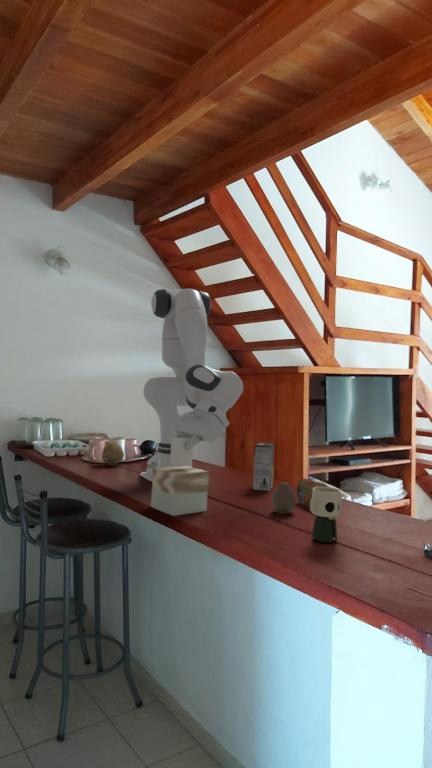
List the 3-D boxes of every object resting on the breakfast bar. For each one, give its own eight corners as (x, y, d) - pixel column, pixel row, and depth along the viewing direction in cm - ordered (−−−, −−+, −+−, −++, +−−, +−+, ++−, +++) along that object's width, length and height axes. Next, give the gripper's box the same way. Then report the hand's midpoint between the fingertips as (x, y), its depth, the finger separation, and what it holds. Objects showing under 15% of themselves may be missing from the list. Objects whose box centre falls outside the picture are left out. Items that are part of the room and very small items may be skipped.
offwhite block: (170, 464, 168) (171, 437, 168) (182, 463, 171) (183, 437, 171) (179, 466, 164) (180, 439, 164) (192, 465, 167) (193, 439, 167)
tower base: (151, 507, 168) (151, 488, 168) (183, 503, 176) (184, 484, 176) (173, 516, 159) (173, 495, 159) (206, 511, 166) (207, 491, 166)
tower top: (152, 488, 168) (153, 468, 168) (184, 484, 176) (184, 465, 176) (175, 496, 159) (176, 475, 159) (208, 491, 167) (208, 471, 166)
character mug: (319, 547, 135) (322, 494, 134) (298, 540, 140) (301, 488, 140) (349, 541, 141) (352, 490, 141) (328, 534, 147) (330, 484, 146)
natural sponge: (127, 465, 240) (128, 442, 240) (117, 468, 231) (118, 444, 231) (108, 463, 243) (109, 440, 242) (98, 466, 234) (98, 442, 234)
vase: (296, 511, 170) (298, 482, 170) (292, 516, 164) (293, 486, 163) (274, 508, 172) (275, 480, 172) (269, 513, 166) (270, 484, 166)
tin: (295, 501, 184) (296, 476, 183) (303, 501, 185) (304, 475, 185) (322, 512, 170) (323, 485, 170) (330, 512, 171) (332, 484, 171)
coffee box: (255, 484, 208) (257, 442, 208) (272, 486, 207) (274, 443, 207) (252, 489, 199) (254, 444, 199) (270, 491, 198) (272, 446, 198)
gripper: (183, 404, 180) (155, 436, 174) (222, 409, 163) (193, 444, 158) (193, 418, 182) (167, 449, 177) (233, 424, 166) (205, 459, 160)
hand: (180, 447), depth 167 cm, fingers closed on offwhite block, 5 cm apart
